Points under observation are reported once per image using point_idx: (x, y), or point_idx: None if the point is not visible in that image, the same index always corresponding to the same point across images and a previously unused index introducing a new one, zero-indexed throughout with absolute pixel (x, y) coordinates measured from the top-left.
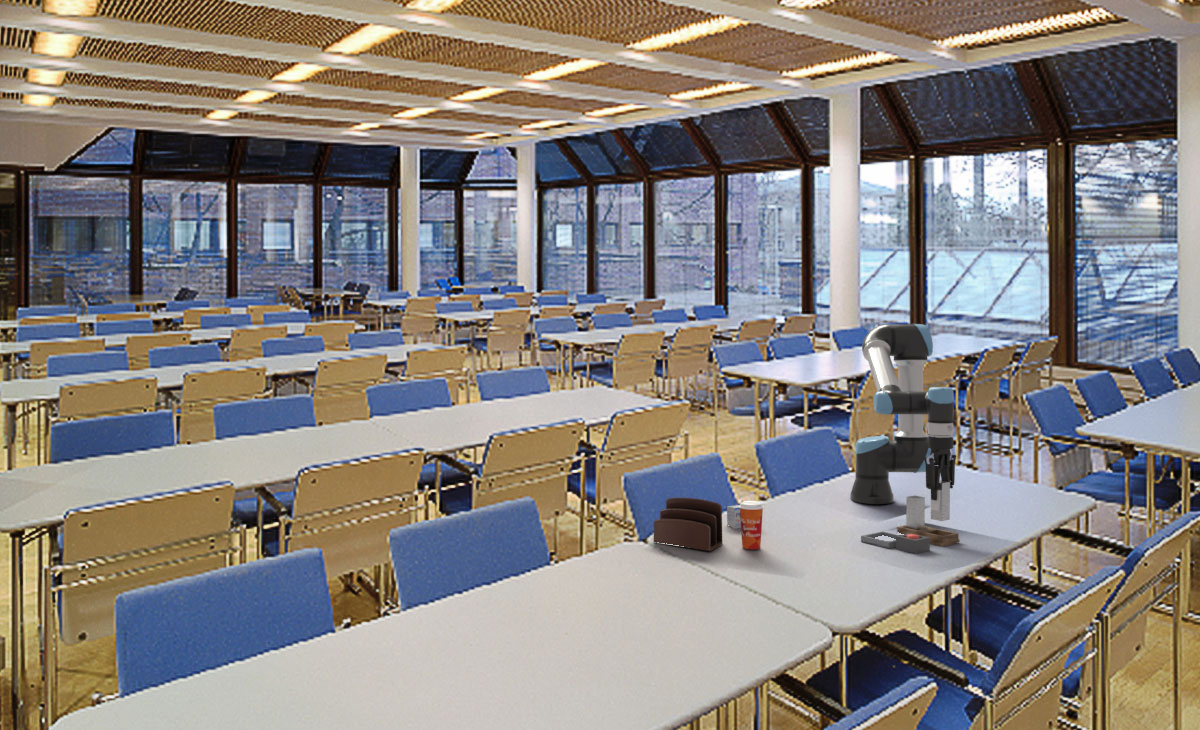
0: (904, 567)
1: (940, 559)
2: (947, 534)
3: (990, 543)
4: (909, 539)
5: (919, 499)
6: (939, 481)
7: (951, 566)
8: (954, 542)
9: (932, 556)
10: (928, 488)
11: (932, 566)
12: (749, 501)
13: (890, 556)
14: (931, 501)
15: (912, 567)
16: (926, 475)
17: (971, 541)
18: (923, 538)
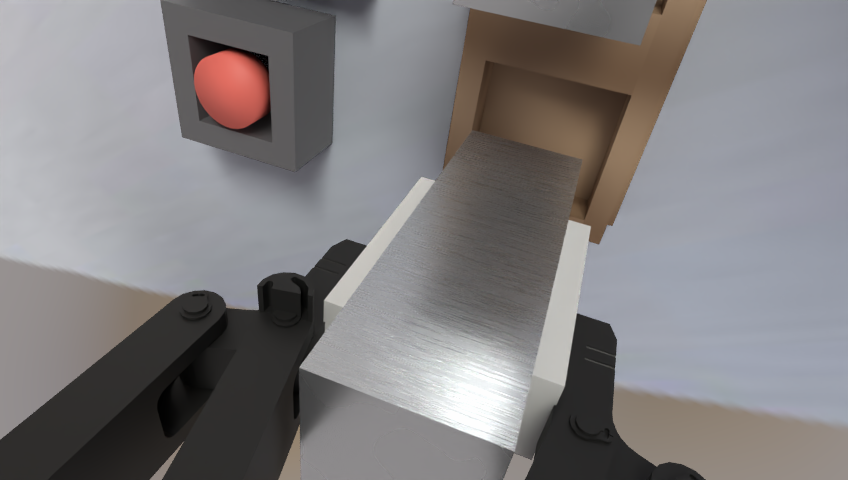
0: (65, 154)
1: (248, 224)
2: (601, 170)
3: (702, 344)
4: (177, 98)
5: (509, 14)
6: (401, 460)
7: (209, 274)
8: None
9: (258, 186)
10: (276, 285)
11: (155, 226)
12: None
13: (106, 38)
14: (390, 219)
15: (89, 176)
16: (24, 432)
17: (694, 261)
18: (250, 152)
